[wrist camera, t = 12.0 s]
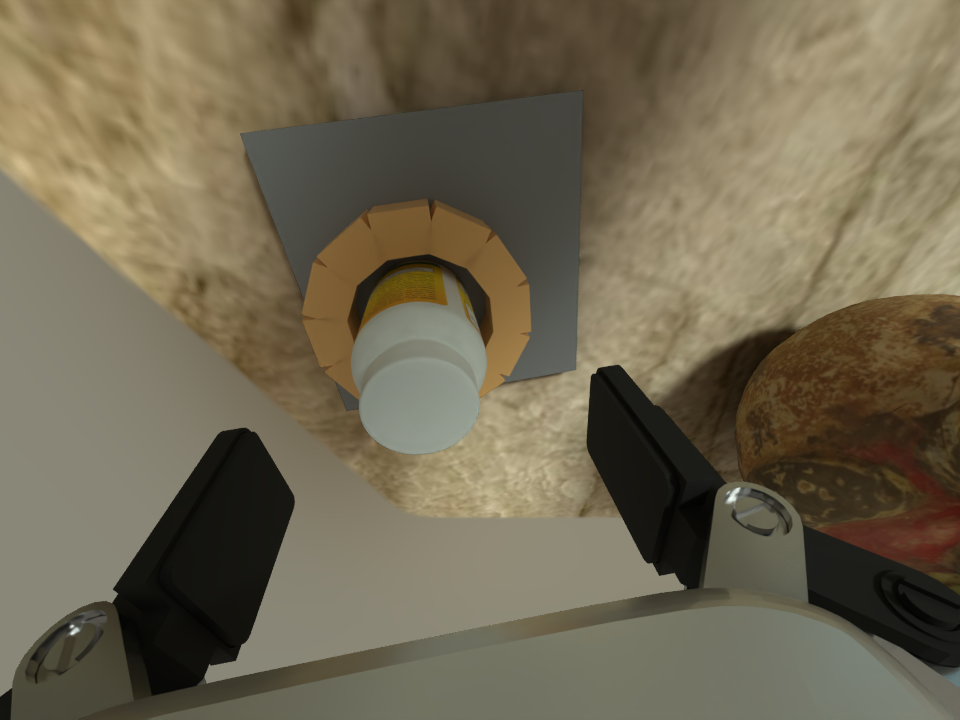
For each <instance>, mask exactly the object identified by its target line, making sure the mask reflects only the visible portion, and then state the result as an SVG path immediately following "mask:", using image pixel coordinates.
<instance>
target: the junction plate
mask: <svg viewBox="0 0 960 720" xmlns="http://www.w3.org/2000/svg"><path fill="white" fill-rule="evenodd" d="M582 118H583V90H580V91H572V92H564V93H556V94H548V95H541V96H533V97H525V98H517V99H509V100H501V101H493V102H485V103H477V104H469V105H462V106H454V107H446V108H438V109H430V110H422V111H414V112H406V113H398V114H390V115H382V116H375V117H367V118H359V119H351V120H343V121H335V122H327V123H319V124H311V125H303V126H295V127H288V128H280V129H272V130H264V131H256V132H248V133H240V135H241V138H242V140H243V143H244V146H245V148H246V151H247V153H248V156H249V159H250V161H251V164H252V166H253V169H254V172H255V174H256V177H257V179H258V182H259V185H260V187H261V190H262V192H263V195H264V198H265V200H266V203H267V205H268V208H269V211H270V213H271V216H272V218H273V221H274V224H275V226H276V229H277V231H278V234H279V237H280V239H281V242H282V244H283V247H284V250H285V252H286V255H287V257H288V260H289V263H290V265H291V268H292V270H293V273H294V276H295V278H296V281H297V283H298V286H299V289H300V291H301V294H302V296H303V299H304V301H305V296H306V292H307V287H308V283H309V278H310V273H311V269H312V264H313V262H314V261H315V260H316V259H317V258H318V257H317V255H318V254H319V253H320V252H321V251H322V250H323V249H324V248H325V247H326V246H327V245H328V244H329V243H330V242H331V241H332V240H333V239H334V238H335V237H336V236H338V235H339V234H340V233H341V232H342V231H343V230H344V229H345V228H346V227H348V226H349V225H350V224H351V223H352V222H353V221H354V220H355V219H357V218H358V217H359V216H360V215H361V214H362V213H363V212H364V211H366V210H367V209H368V211H370V210H371V209H372V207H373V206H378V205H385V204H392V203H399V202H406V201H413V200H420V199H428V205H429V211H431V208H432V205H433V202H434V200H437V201H439V202H441V203H444V204H446V205H448V206H450V207H453V208H455V209H457V210H460V211H462V212H464V213H466V214H469V215H471V216H473V217H476V218H478V219H480V220H482V221H484V223H485V224H486V225H488V226H489V227H490V228H491V229H492V230H493V231H494V232H495V233H496V235H497V236H498V237H499V239H500V240H501V242H502V243H503V244H504V246H505V247H506V249H507V250H508V252H509V253H510V255H511V256H512V257H513V259H514V260H515V262H516V263H517V265H518V266H519V267H520V269H521V270H522V272H523V273H524V275H525V276H526V277H527V279H526V281H527V282H528V284H529V292H530V313H531V332H527V333H528V335H529V336H530V338H529V340H528V342H527V344H526V346H525V348H524V350H523V351H522V353H521V355H520V357H519V359H518V361H517V363H516V365H515V366H514V368H513V370H512V372H511V374H510V376H506V375H503V376H504V378H505V381H504V382H503V383H506V382H511V381H517V380H522V379H528V378H534V377H539V376H545V375H550V374H556V373H562V372H567V371H573V370H576V351H577V312H578V273H579V234H580V196H581V157H582ZM415 260H426V261H432V262H435V263H438V264H440V265H442V266H444V267H446V268H448V269H449V270H450V271H452V272H453V273H454V274H455V275H456V276H457V277H458V278H459V279H460V281H461V282H462V284H463V285H464V287H465V289H466V292H467V294H468V297H469V300H470V302H471V305H472V309H473V312H474V315H475V318H476V321H477V324H478V327H480V325H481V323H482V321H483V318H484V316H485V314H486V309H485V300H484V292H483V288H482V287H481V286H480V285H479V283H478V282H477V281H476V279H475V278H474V277H473V276H472V274H471V273H470V272H469V271H468V269H467V268H464V267H462V266H459V265H456V264H454V263H451V262H449V261H446V260H443V259H441V258H438V257H436V256H433V255H431V254H425V255H418V256H411V257H405V258H398V259H392V260H387V261H386V262H385V263H383V264H382V265H381V266H380V267H379V268H378V269H376V270H375V271H374V272H373V273H372V274H370V275H369V276H368V277H367V278H366V279H364V280H363V281H362V282H361V283H360V286H359V289H358V293H357V296H356V300H355V305H356V308H357V311H358V314H359V318H360V321H361V322H362V319H363V316H364V313H365V310H366V307H367V304H368V301H369V298H370V295H371V292H372V290H373V287H374V285H375V284H376V282H377V281H378V279H379V278H380V277H381V276H382V275H383V274H384V273H385V272H386V271H387V270H388V269H390V268H392V267H393V266H395V265H397V264H400V263H403V262H407V261H415ZM335 382H336V381H335ZM336 385H337V387H338V390H339V392H340V395H341V398H342V400H343V403H344V405H345V408H346V411H349V410H354V409H359V400H358V399H357V398H356V397H354V396H353V395H352V394H351V393H349V392H348V391H347V390H346V389H344V388H343V387H342V386H341V385H339V384H338V383H337V382H336Z"/></svg>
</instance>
